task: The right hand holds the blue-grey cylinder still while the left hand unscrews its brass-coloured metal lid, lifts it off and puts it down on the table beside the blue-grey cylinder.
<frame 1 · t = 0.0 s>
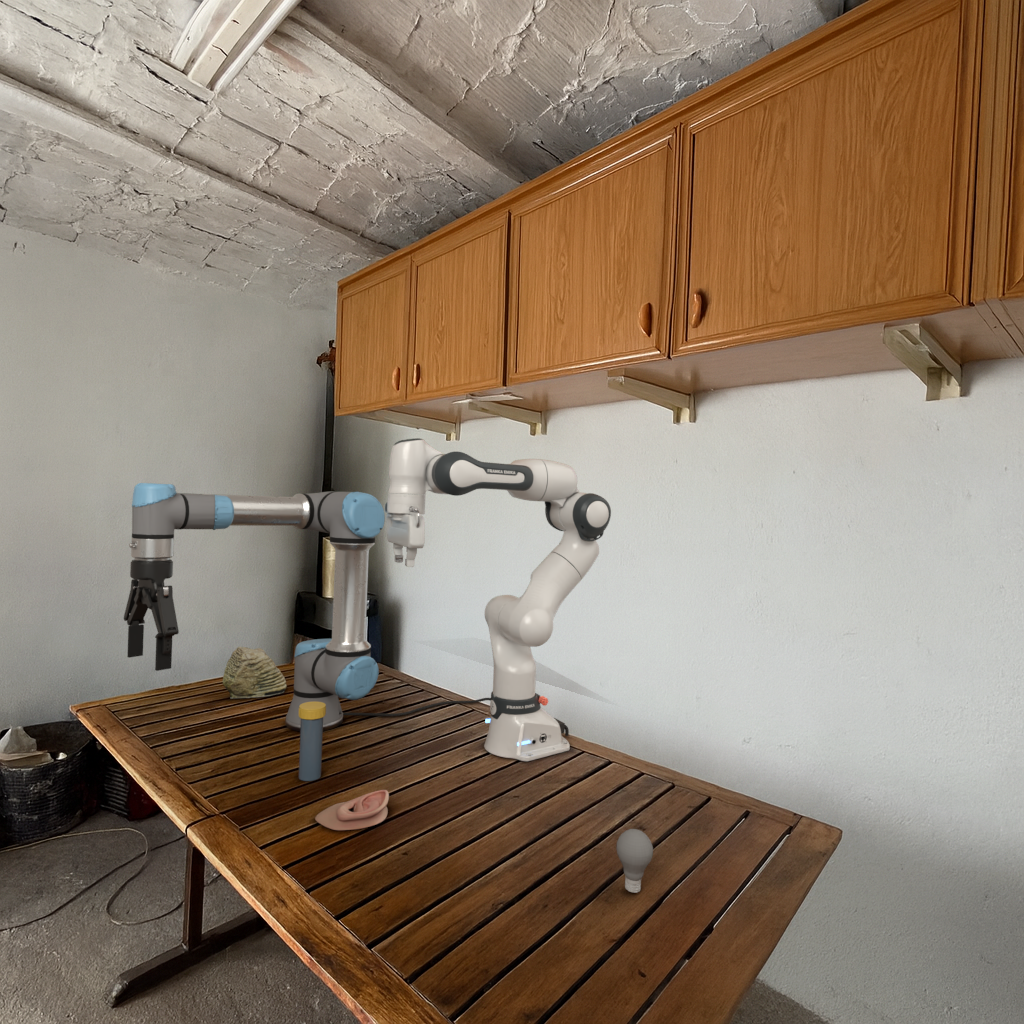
left hand: (148, 662, 129), 28 cm above the table, tool pointing down, fingers open, 13 cm apart
right hand: (403, 564, 151), 48 cm above the table, tool pointing down, fingers open, 8 cm apart
fossil: (254, 694, 198), on the table
lid: (312, 706, 143), point 16 cm above the table, screwed on, not yet turned
anatomical model: (352, 817, 126), on the table
light bulb: (632, 891, 106), on the table
blue-grey cylinder: (309, 776, 143), on the table
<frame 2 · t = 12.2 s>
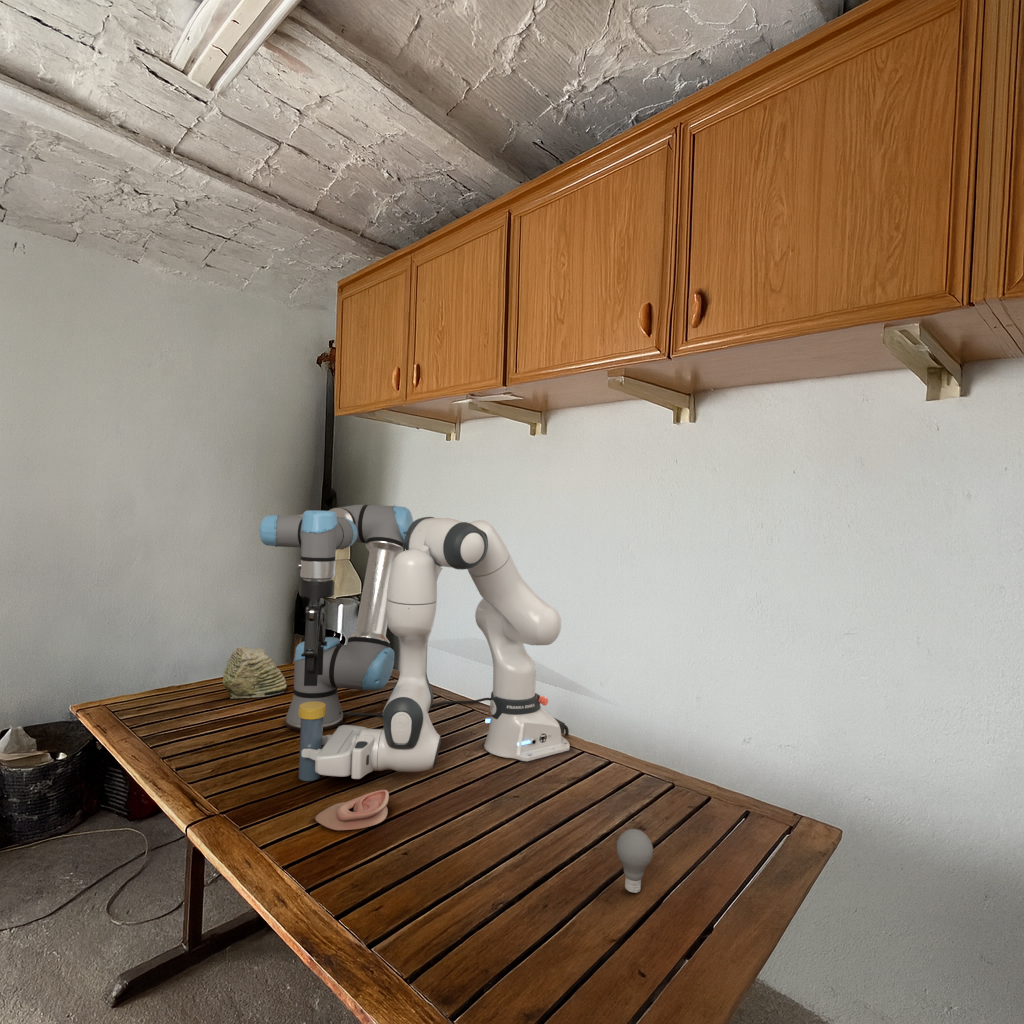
left hand: (313, 679, 143), 22 cm above the table, tool pointing down, fingers open, 8 cm apart
right hand: (306, 746, 143), 7 cm above the table, tool horizontal, fingers closed on blue-grey cylinder, 5 cm apart
blue-grey cylinder: (309, 776, 143), on the table, touching right hand
everything else where it was.
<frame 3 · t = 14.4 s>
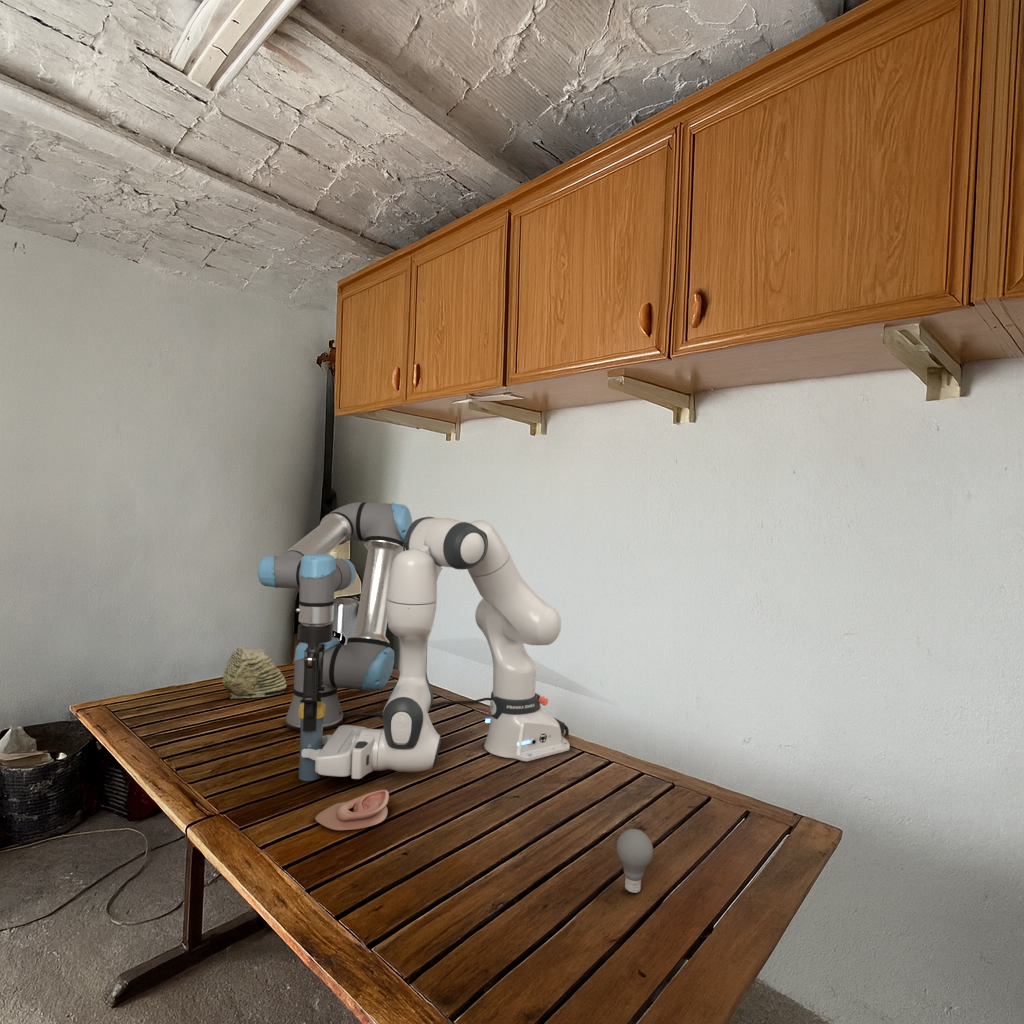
left hand: (311, 725, 143), 12 cm above the table, tool pointing down, fingers closed on lid, 6 cm apart
right hand: (306, 746, 143), 7 cm above the table, tool horizontal, fingers closed on blue-grey cylinder, 5 cm apart
lid: (312, 706, 143), point 16 cm above the table, screwed on, not yet turned, touching left hand
blue-grey cylinder: (309, 776, 143), on the table, touching right hand
everything else where it was.
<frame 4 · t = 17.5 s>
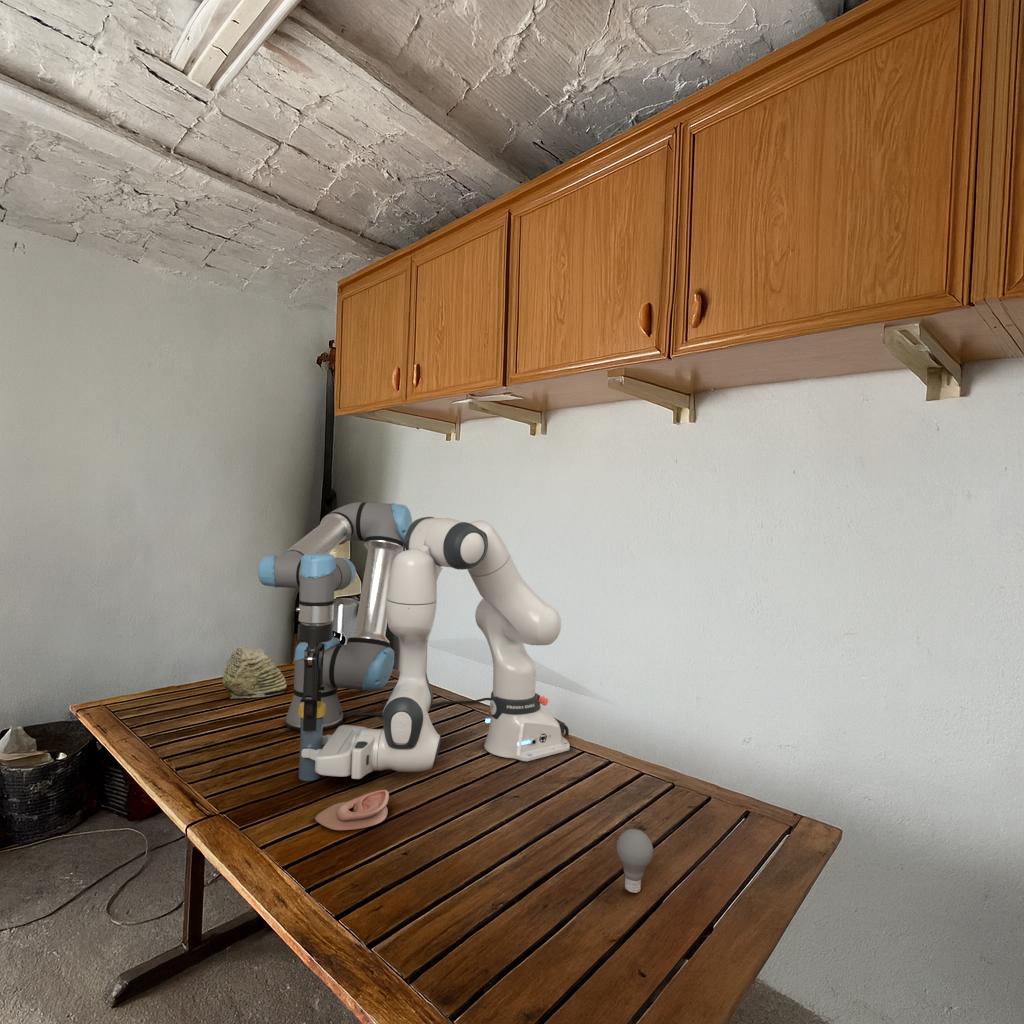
left hand: (311, 724, 143), 12 cm above the table, tool pointing down, fingers closed on lid, 6 cm apart
right hand: (306, 746, 143), 7 cm above the table, tool horizontal, fingers closed on blue-grey cylinder, 5 cm apart
lid: (312, 706, 143), point 16 cm above the table, turned 94° so far, risen 0.1 cm, still on its thread, touching left hand
blue-grey cylinder: (309, 776, 143), on the table, touching right hand
everything else where it was.
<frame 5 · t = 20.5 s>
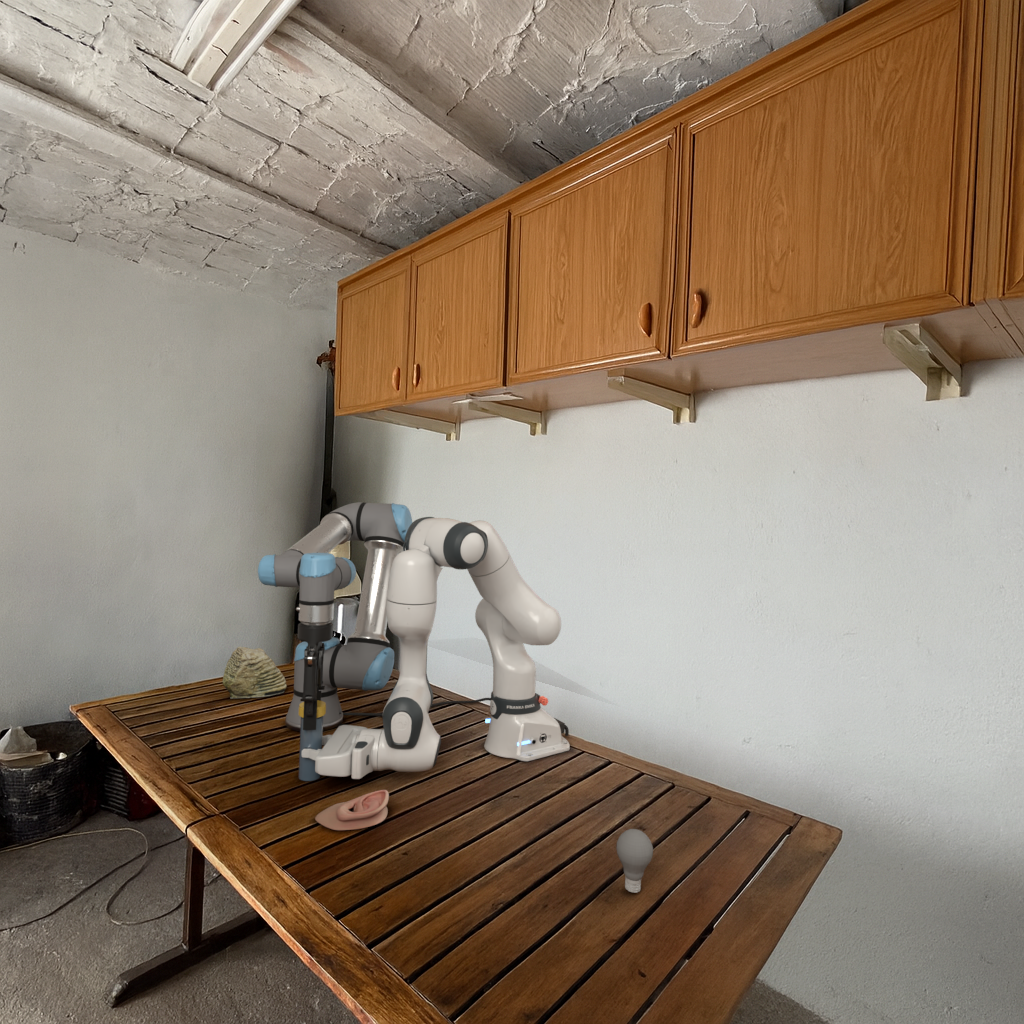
left hand: (311, 724, 143), 12 cm above the table, tool pointing down, fingers closed on lid, 6 cm apart
right hand: (306, 746, 143), 7 cm above the table, tool horizontal, fingers closed on blue-grey cylinder, 5 cm apart
lid: (312, 705, 143), point 16 cm above the table, turned 188° so far, risen 0.3 cm, still on its thread, touching left hand
blue-grey cylinder: (309, 776, 143), on the table, touching right hand
everything else where it was.
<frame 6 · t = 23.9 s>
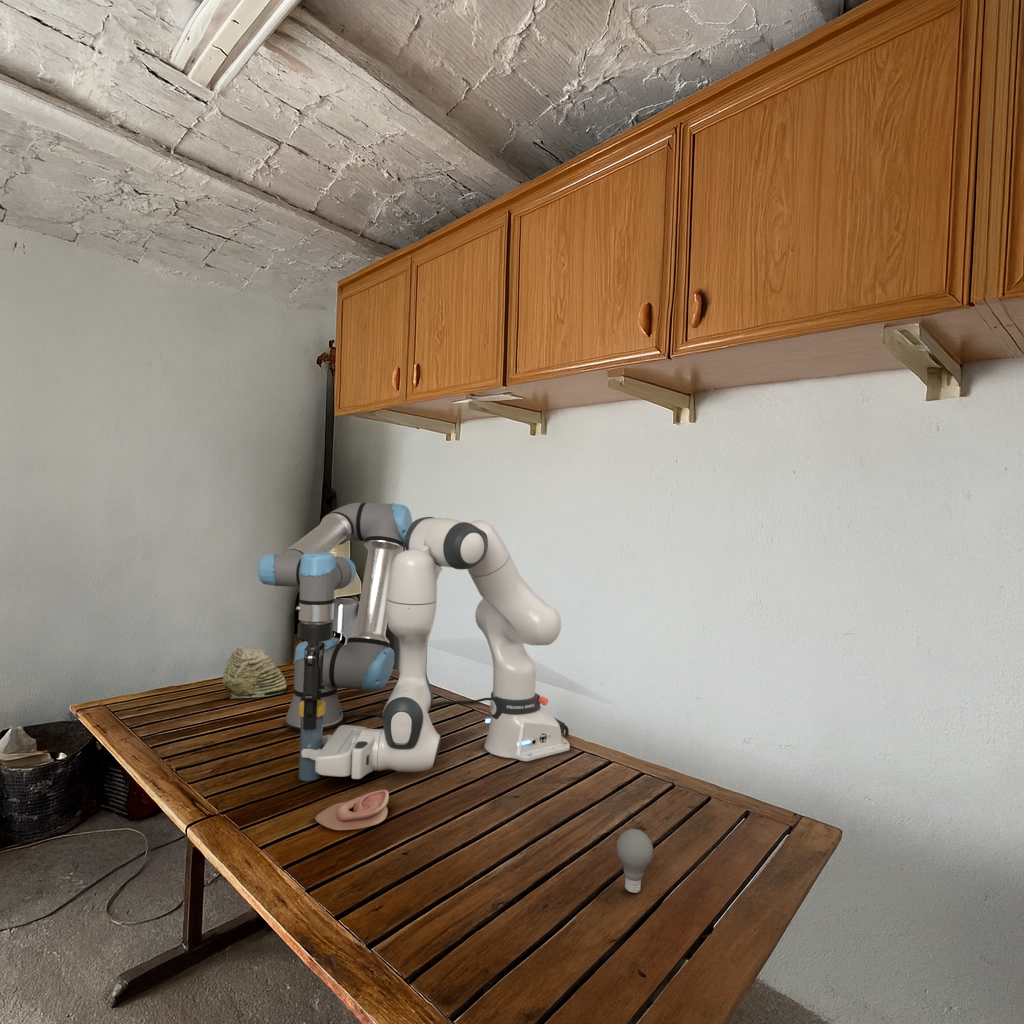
left hand: (311, 723, 143), 12 cm above the table, tool pointing down, fingers closed on lid, 6 cm apart
right hand: (306, 746, 143), 7 cm above the table, tool horizontal, fingers closed on blue-grey cylinder, 5 cm apart
lid: (312, 705, 143), point 16 cm above the table, turned 283° so far, risen 0.4 cm, still on its thread, touching left hand
blue-grey cylinder: (309, 776, 143), on the table, touching right hand
everything else where it was.
when the left hand's fingers open (0 cm above the table, at t = 30.8 s): lid drops 2 cm, point 2 cm above the table.
when the right hand's fingers open (7 cm above the table, at t = 31.5 s): blue-grey cylinder stays where it is, on the table.
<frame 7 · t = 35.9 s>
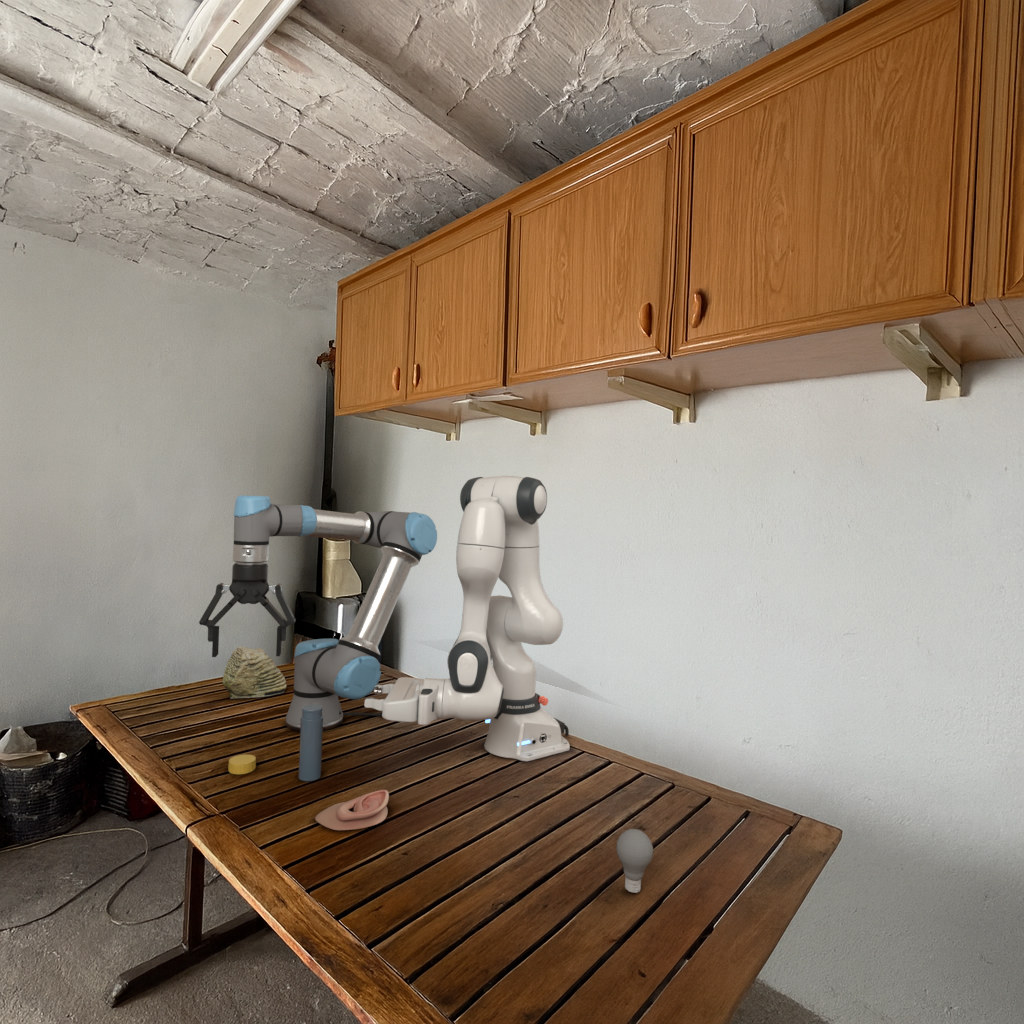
left hand: (247, 655, 145), 26 cm above the table, tool pointing down, fingers open, 13 cm apart
right hand: (369, 695, 143), 19 cm above the table, tool horizontal, fingers open, 8 cm apart
lid: (242, 760, 145), point 2 cm above the table, off its thread
blue-grey cylinder: (309, 776, 143), on the table
everything else where it was.
at the end: lid came off its thread; lid point 1.9 cm above the table; the left hand is holding nothing; the right hand is holding nothing; blue-grey cylinder tilted 0°; blue-grey cylinder moved 0.0 cm from its start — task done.
